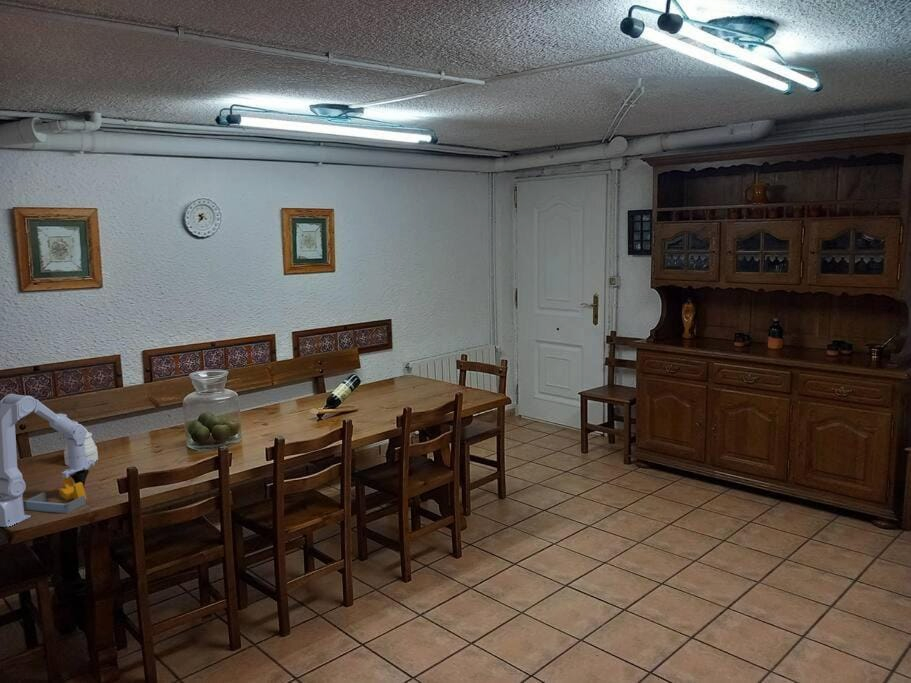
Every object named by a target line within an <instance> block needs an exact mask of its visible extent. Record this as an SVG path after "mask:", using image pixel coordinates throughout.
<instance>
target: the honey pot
mask: <svg viewBox="0 0 911 683" xmlns="http://www.w3.org/2000/svg"><path fill="white" fill-rule="evenodd" d="M75 422H76V424H77V425H82V424H81V423H79V422H78V421H75ZM82 426H83V427H84V428H85V430H86V431H87V434H86V437H85V442H84V445H85V454H86V461H89V460H94V463H95V462H97V461H98V460H99V454H98V447H97V445H96V442H94V439H93V437H92V436H93V433H92V432H89V431H88V430H87V428H86V427H85V426H84V425H82ZM63 458H64V464H65V466H69V467H70V465H69V456H68V448H67V442H66V443H65V448H64V450H63ZM96 460H97V461H96Z"/></svg>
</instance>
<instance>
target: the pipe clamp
mask: <svg viewBox="0 0 911 683" xmlns="http://www.w3.org/2000/svg"><path fill="white" fill-rule="evenodd" d="M60 479H61V483H62V487H60V488H58V491H59V492H58V493H59V495H60V497H61V498H62V499H65V500H67V501H70V500H75V499H77V498H79V497H81V496H85V500H87V495H86V492H85V486H84V487H83V483H81V482H79V483H73V479H72V477H71V476H68V478H60Z"/></svg>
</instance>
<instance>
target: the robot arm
mask: <svg viewBox="0 0 911 683" xmlns="http://www.w3.org/2000/svg"><path fill="white" fill-rule="evenodd" d="M31 413H34V414H36V415H37V416H39V417H41V418H43V419H45V420H46V421H48V422H49V427H51V428H52V429H54V430H56V431H57V432H58V433H60V434H61V435H62V437H63V438H64V439H66V443H67V448H68V456H69V465H70V466H69V467H67V469H66V470H64V471H62V472H61V479H63V478H68V476H69V477H71V480H72V481H74V484H76V483H79V482H81V483H83V487H84V488H85V484H86V480H87V476H88V474H89V473H90V472H89V471H90V470H89V468H90V467H91V466H92V467H93V466H96V464H95V462H94V460H89V461H86V454H85V445H84V442H85V437H86V434H87V431H88V430H87V431H86V430H85V428H86V427H85V426H84V425H83V426H84V427H85V428H84V427H83V426H82V424H81V425H77V424H76V422H77V421H75V420H72V419H70V418H69V417H68V415H67V414H66V413H55V412H54V411H53V410H51V409H50V408H48V407H47V406H46V405H45V404H43V403H42V402H41V401H40V400H39V399H36V398H35V397H34V396H31V395H21V394H16V393H8V394H7V395H5V396H4V397H3V398H2V399H1V400H0V528H1V527H2V528H3V527H4V528H10V527H9V526H11V527H13V526H15V525H17V524H19V523H22V522H23V521H25V520H27V519H29V518H31V517H32V515H31V514H25V509H24V504H23V501H24V500H23V496H24V494H23V493H24V492H25V490H26V488H27V487H26V485H27V484H26V482H25V480H24V479H23V477H24V476H23V474H22V472H21V471H20V470H19V468H18V456H17V454H18V453H17V452H18V451H17V440H16V439H17V438H16V437H17V436H16V423H18V421H19V420H20V419H23V418H24V417H27V416H28V415H29V414H31ZM16 523H17V524H16ZM14 524H15V525H14ZM12 525H13V526H12ZM6 526H7V527H6Z"/></svg>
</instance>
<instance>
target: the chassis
mask: <svg viewBox="0 0 911 683" xmlns="http://www.w3.org/2000/svg"><path fill="white" fill-rule="evenodd" d="M46 494H47V493H46V492H41V493H39V494H37V495H35V496H31V497H30V498H28V499H26V500H23V507H24V511H27V510H28V511H39V512H49V513H60V514H62V513H63V514H69V513H70V512H73V511H74V510H77V509H78V508H80V507H82V506H84V505H86V499H85V496H81V497H79V498H77V499H72V500H71V501H68V502H67V503H63V502H62V503H60V502H49V501H47V495H46Z"/></svg>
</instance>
